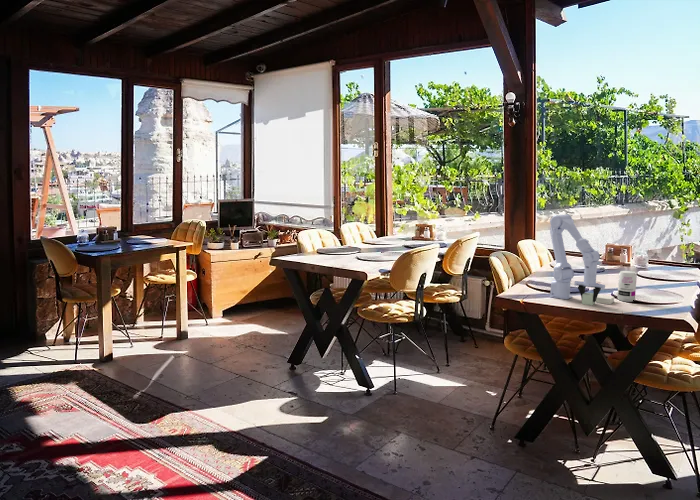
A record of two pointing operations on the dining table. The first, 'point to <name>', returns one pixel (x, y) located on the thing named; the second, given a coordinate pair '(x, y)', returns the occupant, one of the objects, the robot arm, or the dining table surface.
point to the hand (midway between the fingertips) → (588, 300)
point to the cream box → (605, 299)
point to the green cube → (587, 298)
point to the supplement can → (627, 286)
